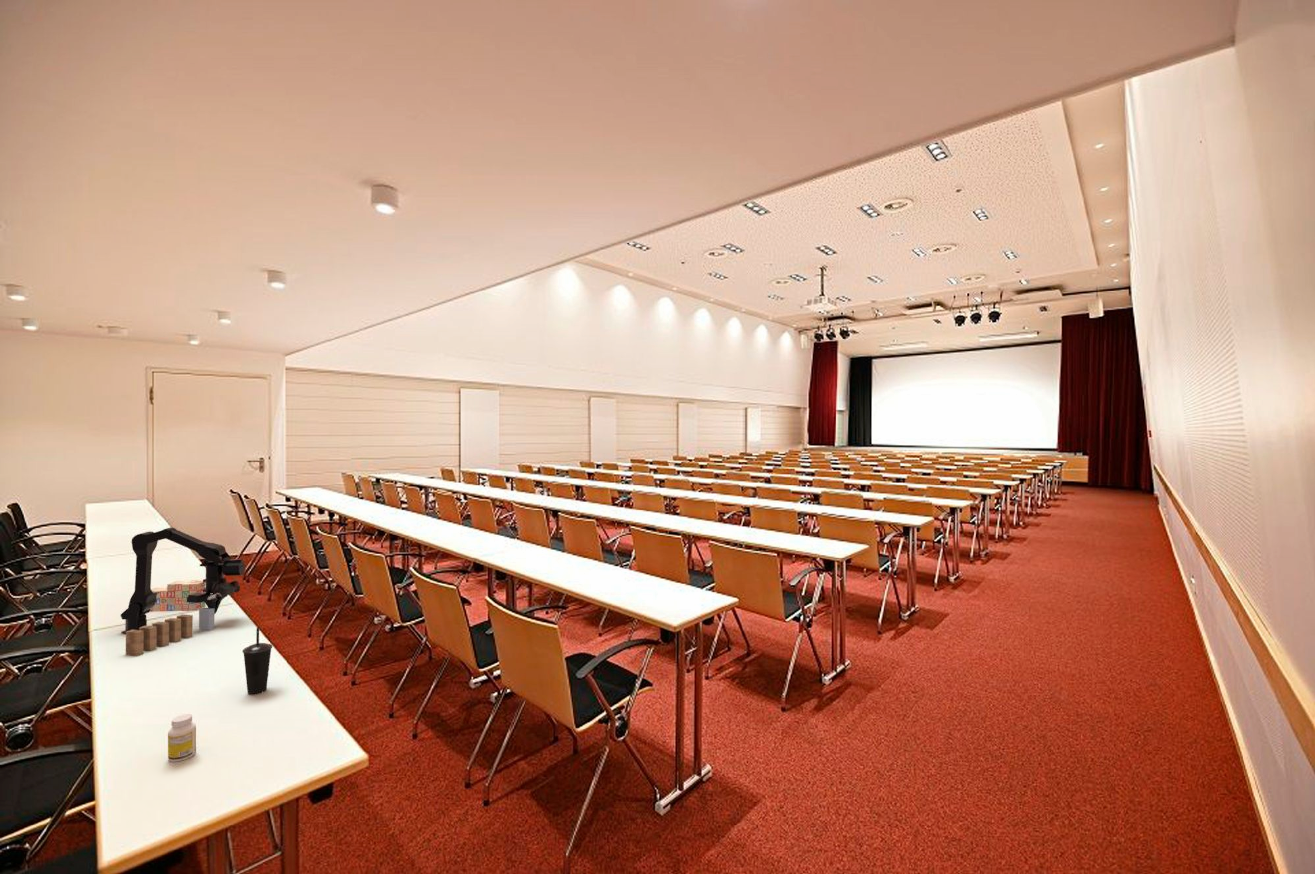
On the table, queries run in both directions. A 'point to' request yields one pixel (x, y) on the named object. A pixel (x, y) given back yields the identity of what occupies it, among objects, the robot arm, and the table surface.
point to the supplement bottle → (181, 738)
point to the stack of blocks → (178, 596)
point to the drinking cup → (257, 666)
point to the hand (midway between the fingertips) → (214, 613)
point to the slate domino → (206, 619)
